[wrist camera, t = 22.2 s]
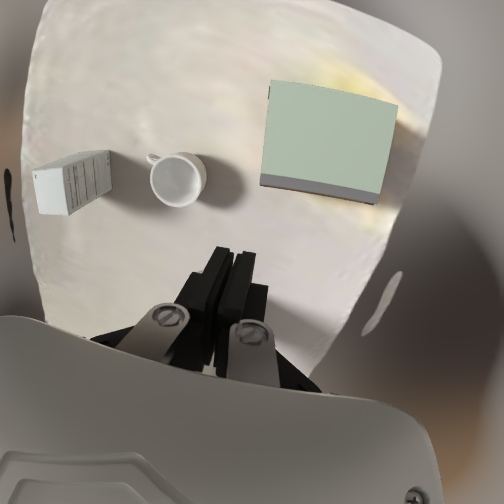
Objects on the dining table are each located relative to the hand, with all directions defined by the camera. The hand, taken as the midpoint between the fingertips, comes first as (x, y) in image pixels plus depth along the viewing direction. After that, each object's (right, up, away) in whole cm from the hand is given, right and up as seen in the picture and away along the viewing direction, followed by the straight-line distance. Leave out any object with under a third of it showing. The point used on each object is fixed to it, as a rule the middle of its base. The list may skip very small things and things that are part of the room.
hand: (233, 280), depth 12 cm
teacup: (-10, +14, +30) cm, 35 cm away
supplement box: (-27, +16, +32) cm, 44 cm away
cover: (+9, +14, +18) cm, 25 cm away
